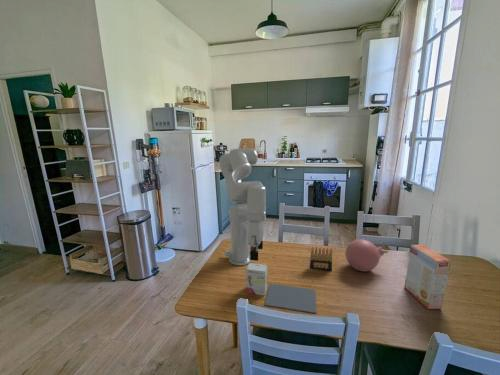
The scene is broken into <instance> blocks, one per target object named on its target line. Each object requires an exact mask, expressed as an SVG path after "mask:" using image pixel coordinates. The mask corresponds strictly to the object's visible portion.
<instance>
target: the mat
mask: <svg viewBox="0 0 500 375" xmlns="http://www.w3.org/2000/svg"><path fill="white" fill-rule="evenodd" d="M267 289H268V290H267V292H266V293H267V294H266V297H265V302H264V306H267V307H273V308H279V309H286V310H291V311H298V312H305V313H310V314H317V298H316V297H317V296H316V289H313V288H312V289H311V288H305V287H297V286H292V285H291V286H290V285H284V284H283V285H282V284H276V283H269V286H268V288H267Z"/></svg>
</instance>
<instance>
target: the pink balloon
mask: <svg viewBox="0 0 500 375" xmlns="http://www.w3.org/2000/svg"><path fill="white" fill-rule="evenodd" d="M384 254H388V251H387V250H385V249H383V247H382V246H379V247H377V246H376V245H375V244H374V243H372V242H371V241H370V240H368V239H367V240H366V239H365V238H364V239H363V238H358V239H355V240H352V241H351V242H349V243H348V245H347V246H346V249H345V260H346V261H347V262H348V264H349V266H351V267H352V268H353V269H354V270H357V271H358V272H359V271H360V272H370V271H373V270H374V269H375V268H377V266H378V265H379V262H380V259H381V257H382V256H384Z"/></svg>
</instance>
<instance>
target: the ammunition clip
mask: <svg viewBox="0 0 500 375" xmlns="http://www.w3.org/2000/svg"><path fill="white" fill-rule="evenodd" d="M314 249H315V250H314ZM325 249H326V250H325ZM309 269H310V270H313V271H314V270H316V271H326V272H332V271H333V249H332V247H330V250H329V248H328V247H326V248H325V247H323V248H321V247H319V248H318V247H317V246H315V248H314V247H313V246H312V247H311V252H310V261H309Z"/></svg>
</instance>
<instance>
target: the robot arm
mask: <svg viewBox="0 0 500 375" xmlns="http://www.w3.org/2000/svg"><path fill="white" fill-rule="evenodd" d="M257 153H258V152H257V151H256V149H254V148H234V149H232V150H231V151H229V153H225V154H221V155H220V157H219V169H220V171H221V173H222V175H223V177H224V180H225V183H226V188H227V194H228V198H229V199H228V200H229V201H230V203H233V204H232V205H230V207H229V208H228V218H229V221H230V222H229V223H230V239H231V240H230V242H231V244H230V245H231V248H230V249H231V250H228V249H227V250H226V249H225V250H224V256H225V257H228V261H229V263H230V264H232V265H235V266H247V265H248V264H249V263H252V261H259V250H263V247H264V246H263V243H264V241H263V237H264V232H265V231H264V229H265V228H264V222H265V221H266V220H267V215H266V214H267V213H266V212H267V210H266V209H267V189H266V186H264V185H263V182H261V181H259V180H253V181H252V180H250V181H242V180H243V179H245V178H247V177H248V176H249V175H250V174H251V172H252V167H253V166H255V165H256V164H257V163H258V159H259V158H258V154H257ZM234 203H235V204H234ZM245 222H248V225H247V224H246V223H245Z"/></svg>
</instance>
